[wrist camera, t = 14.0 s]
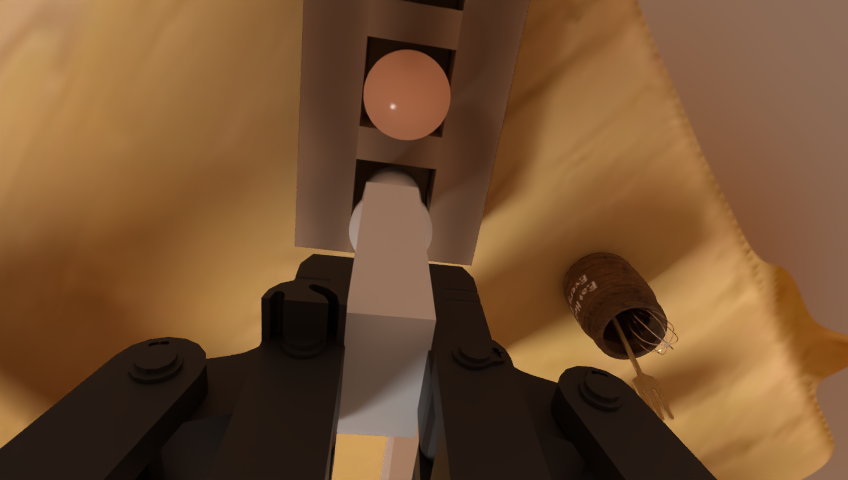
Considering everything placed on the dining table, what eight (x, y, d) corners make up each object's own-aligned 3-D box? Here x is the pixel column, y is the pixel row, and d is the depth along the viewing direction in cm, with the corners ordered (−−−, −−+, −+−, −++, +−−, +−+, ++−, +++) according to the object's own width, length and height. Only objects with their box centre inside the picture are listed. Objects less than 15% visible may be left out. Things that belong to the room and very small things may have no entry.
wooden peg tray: (307, 216, 36) (294, 246, 32) (324, -143, 27) (309, -173, 22) (462, 234, 37) (471, 265, 33) (531, -102, 28) (557, -123, 23)
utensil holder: (634, 245, 38) (725, 337, 28) (627, 309, 41) (708, 416, 31) (561, 253, 39) (624, 349, 28) (560, 317, 41) (616, 426, 31)
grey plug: (354, 221, 32) (345, 264, 27) (360, 156, 30) (352, 188, 25) (421, 229, 33) (425, 273, 27) (431, 165, 31) (438, 199, 26)
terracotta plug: (366, 112, 31) (359, 134, 26) (373, 36, 29) (367, 43, 24) (435, 121, 32) (442, 145, 26) (447, 48, 30) (457, 58, 24)
